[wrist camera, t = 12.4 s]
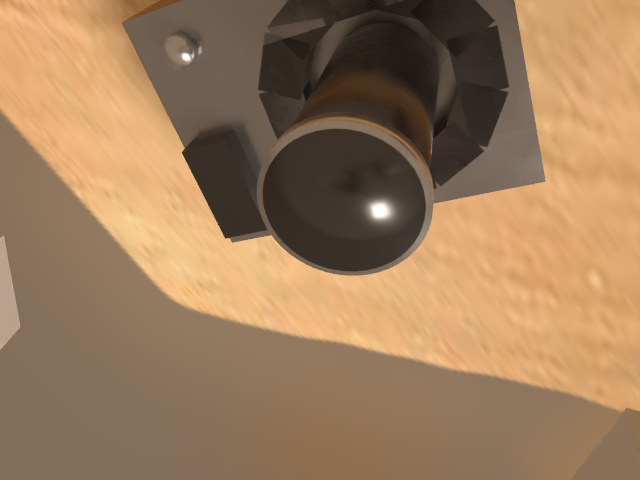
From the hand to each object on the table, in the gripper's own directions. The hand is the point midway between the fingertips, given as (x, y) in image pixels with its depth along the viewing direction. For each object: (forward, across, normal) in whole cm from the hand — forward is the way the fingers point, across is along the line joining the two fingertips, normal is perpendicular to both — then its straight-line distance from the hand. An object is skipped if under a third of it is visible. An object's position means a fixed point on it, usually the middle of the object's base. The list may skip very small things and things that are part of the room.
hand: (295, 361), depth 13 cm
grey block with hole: (+22, -2, -1) cm, 22 cm away
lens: (+18, 0, 0) cm, 18 cm away
